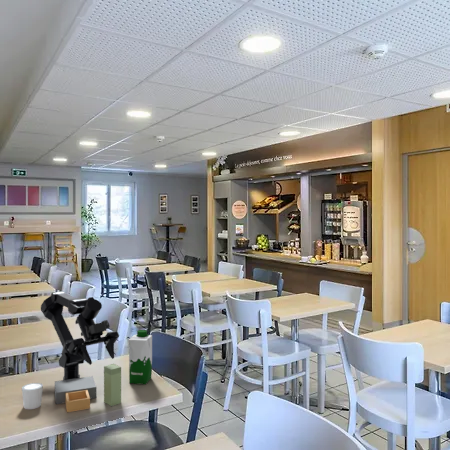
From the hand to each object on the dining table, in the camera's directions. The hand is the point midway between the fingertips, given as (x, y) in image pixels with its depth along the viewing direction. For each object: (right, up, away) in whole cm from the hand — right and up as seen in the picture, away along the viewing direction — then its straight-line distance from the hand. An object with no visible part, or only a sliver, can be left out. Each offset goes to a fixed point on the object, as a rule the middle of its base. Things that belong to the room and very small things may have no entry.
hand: (102, 361), depth 159 cm
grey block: (-9, -13, -2) cm, 16 cm away
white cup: (-23, -14, -8) cm, 27 cm away
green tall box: (+5, -13, -5) cm, 15 cm away
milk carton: (+11, -13, +16) cm, 24 cm away
